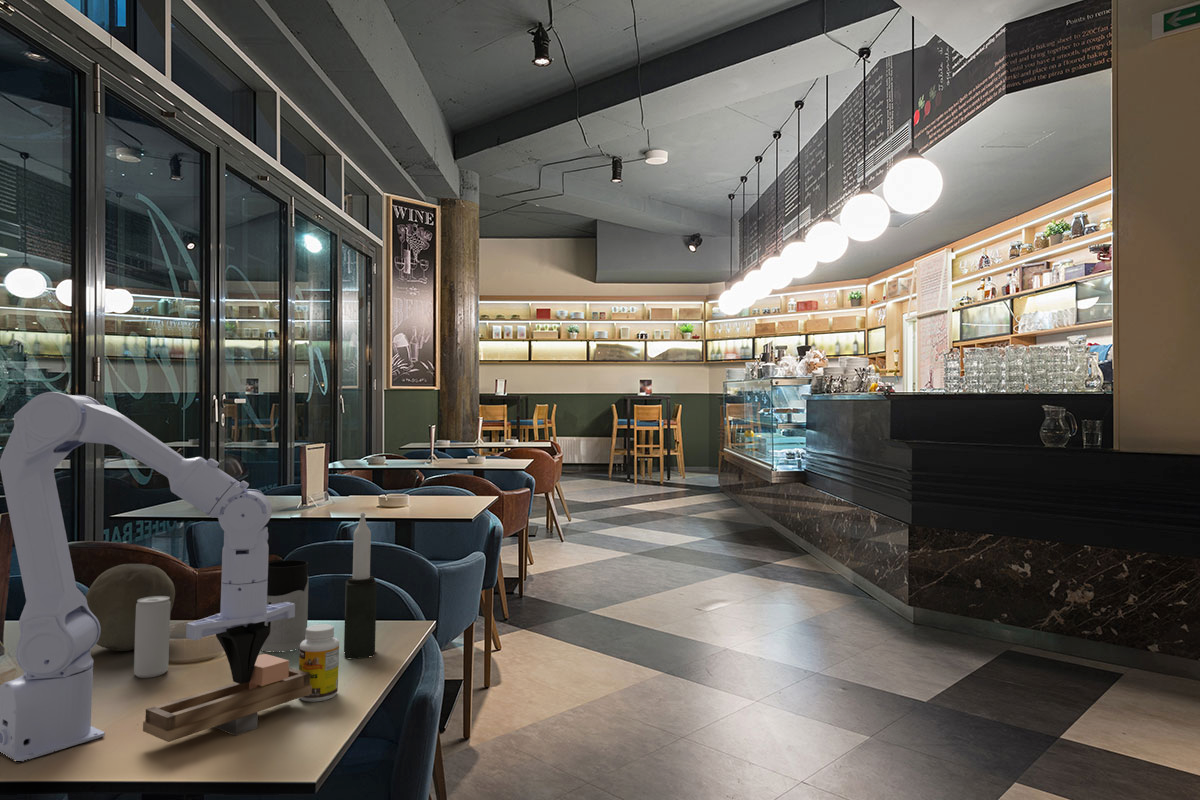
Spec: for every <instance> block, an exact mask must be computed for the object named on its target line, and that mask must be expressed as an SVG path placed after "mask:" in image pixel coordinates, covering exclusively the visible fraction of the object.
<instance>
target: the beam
mask: <svg viewBox="0 0 1200 800" xmlns="http://www.w3.org/2000/svg"><path fill="white" fill-rule="evenodd" d="M310 694H312V685H310V673H307V672H304V671H300V670H299V669H296V668H292V667H290V666H289V678H287V679H283V680H280V681H277V682H274V683H270V684H267V685H264V686H259V687H255V688H252V689H249V682H247V683H244V684H239V683H236V682H233V683H230V684H227V685H223V686H220V687H217V688H213V689H210V690H206V691H202V692H199V693H196V694H193V695H189V696H186V697H183V698H179V699H175V700H172V701H168V702H165V703H162V704H159V705H156V706H152V707H148V708H146V709H145V717H144V718H145V720H143V722H142V732H144V733H146V734H148V735H151V736H154V737H155V738H158V739H160V740H163V741H165V742H167V743H170V742H174V741H176V740H179V739H182V738H185V737H187V736H188V737H189V736H191V735H193V734H197V733H201V732H203V731H207V730H209V729H211V728H215V729H217V730H221V731H223V732H226V733H228V734H231V735H233V736H238V735H242V734H244V733H247V732H250V731H252V730H255V729H258V715H259V714H258V713H259V712H262V711H265V710H268V709H271V708H274V707H277V706H280V705H282V704H286V703H289V702H292V701H294V700H297V699H298V700H299V699H300V698H301V697H304V696H307V695H310Z"/></svg>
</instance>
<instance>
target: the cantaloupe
mask: <svg viewBox="0 0 1200 800" xmlns="http://www.w3.org/2000/svg"><path fill="white" fill-rule="evenodd" d="M84 596H85V597H86V599H87V604H88V607H89V609H90V611H91V612H92V613H93V614H94V615H95V616H96V618H97V619H98V621H99V623H100V627H101V633H100V637H99V639H98V641H97V643H96V644H95V645H97V646H99V647H101V648H105V649H108V650H111V651H116V652H128V651H129V652H130V651H133V650H135V620H136V605H137V603H138V602H137V600H139V599H141V598H145V597H152V596H167V597H170V599H169V601H170V602H171V604H170V613H171V612H172V609H173V607H174V603H175V598H176V589H175V585H174V582H173V580H172V579H171V578H170V577H169V575H167V573H166V572H165V571H164V570H163V569H161V568H160V567H158V566H155V565H152V564H146V563H123V564H119V565H116V566H113V567H110V568H108V569H106V570H105V571H104V572H102V573H101V574H100V575H98V576H97V578H96V579H95V580H94V581H93V582H92V584H91V585H90V586H89V589H88V590H87V593H86V594H85V595H84Z"/></svg>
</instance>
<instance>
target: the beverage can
mask: <svg viewBox="0 0 1200 800" xmlns="http://www.w3.org/2000/svg"><path fill="white" fill-rule="evenodd" d="M169 599H170V597H167V596H152V597H145V598H141V599H139V600H137V602H138V603H137V605H136V620H135V649H134V652H133V653H134V655H133V657H134V658H133V659H134V661H133V673H134V675H135V676H136V678H137V677H138V678H142V679H150V678H155V677H159V676H161V675H164V674H165V673H166V672H167V671H168V669H169V660H170V658H169V656H170V653H169V652H170V631H171V630H170V627H171V626H170V625H171V612H170V604H171V602H170V601H169Z"/></svg>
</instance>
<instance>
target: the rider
mask: <svg viewBox="0 0 1200 800" xmlns="http://www.w3.org/2000/svg"><path fill="white" fill-rule="evenodd" d="M289 667H290V660H288V659H284V658H282V657H278V656H274V655H270V654H268V653H263V654H259V655H258V657H257V660H256V663H255V666H254V669H253V673H252V676H251V680H250V682H249V689H252V688H255V687H259V686H264V685H267V684H270V683H274V682H277V681H280V680H283V679H287V678H289Z"/></svg>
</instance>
